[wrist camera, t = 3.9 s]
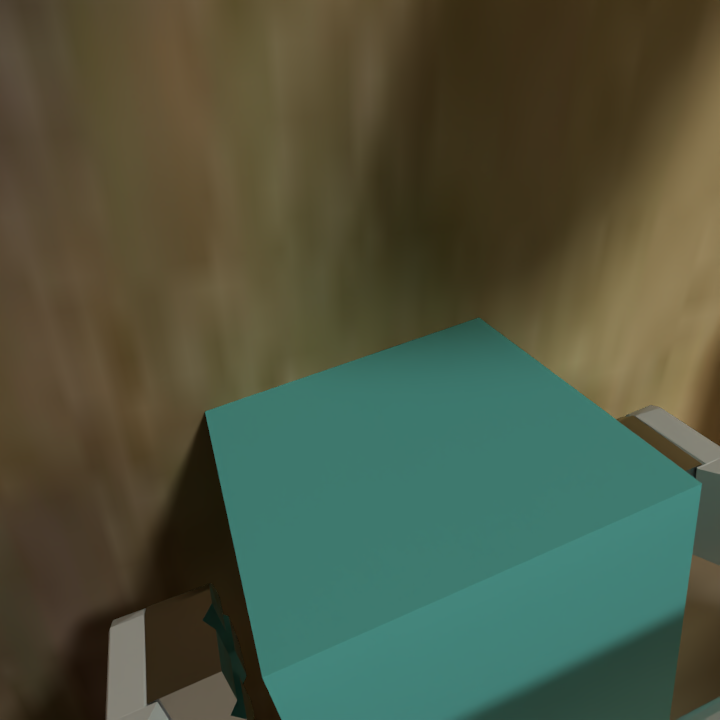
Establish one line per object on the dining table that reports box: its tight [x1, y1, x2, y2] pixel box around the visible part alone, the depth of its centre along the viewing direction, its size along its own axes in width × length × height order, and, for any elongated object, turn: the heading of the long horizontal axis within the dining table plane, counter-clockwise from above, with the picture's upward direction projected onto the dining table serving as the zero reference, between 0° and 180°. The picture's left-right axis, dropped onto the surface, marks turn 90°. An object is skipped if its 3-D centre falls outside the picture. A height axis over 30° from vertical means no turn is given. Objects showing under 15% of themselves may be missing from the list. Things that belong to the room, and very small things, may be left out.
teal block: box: [205, 318, 702, 720], centre depth 9 cm, size 5×5×5 cm
